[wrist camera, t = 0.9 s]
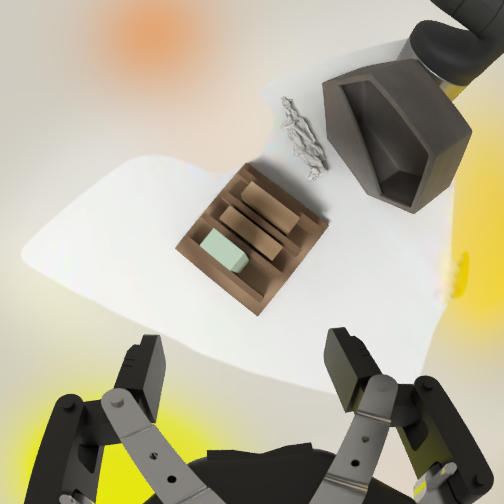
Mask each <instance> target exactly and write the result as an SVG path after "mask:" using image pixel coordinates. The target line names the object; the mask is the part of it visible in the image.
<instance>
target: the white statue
mask: <svg viewBox="0 0 504 504" xmlns="http://www.w3.org/2000/svg"><path fill="white" fill-rule="evenodd" d="M281 100H282V104H283V106H285V108H284V109H285V111H286V115H287V117H288V120H287V121H286V122H285V123H284V124H282V125H281V129H282V130H285V129H288V131H289V132H290V133H289V138H290V139H291V140H294V142H295V147H294V155H295V156H298V155H300V158H301V159H303V160H304V161H305V162H306V163H307V164H308V165H309V167H310V168H311V171H312V172H311V174H310V176H309V177H308V180H309V181H310V180H311V179H312V178H314V180H316V178H318V177H319V176H322V175H323V174H326V173H327V172H328V171H327V170H326V169H325V168H324V167H323V166H322V164H321V163H322V162H321V161H324V160H325V161H326V157H325V158H324V155H323V151H322V150H321V148H320V147H319V146H318V145H316V144H314V143H315V140H316V139H315V138H314V137H313V135H312V133H311V132H310V130H309V128H308V125H307V123H306V122H305V121H304V119H303V118H299V117H298V116H297V115H295V113H296V111H294V110H293V109H292V108H291V104H290V102H291V101H293V99H289V100H286V98H285V97H283V98H281ZM296 114H297V113H296ZM291 136H294V137H293V139H292V137H291ZM320 158H321V159H320Z"/></svg>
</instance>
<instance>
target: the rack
mask: <svg viewBox="0 0 504 504" xmlns="http://www.w3.org/2000/svg"><path fill="white" fill-rule="evenodd" d="M251 181H252V182H253V183H255V184H256V185H258V186H259V187H260V188H262V189H263V190H264V191H266V192H267V193H268V194H270V195H271V196H272V197H273V198H275V199H276V200H277V201H279V202H280V203H281V204H283V205H284V206H285V207H287V208H288V209H289V210H290V211H292V212H293V213H294V214H296V215H297V216H298V217H299V218H300V219H299V220H298V222H297V223H296V225H295V226H294V228H293V229H292V230H291V232H290V233H289V234H288V235H287V237H285V236H284V235H283V234H281V233H280V232H279V231H278V230H276V229H275V228H274V227H272V226H271V225H270V224H269V223H267V222H266V221H265V220H263V219H262V218H261V217H260V216H258V215H257V214H256V213H254V212H253V211H252V210H251V209H249V208H248V207H247V206H245V205H244V204H243V202H242V197H241V193H242V192H243V191H244V190H245V188H246V187H247V186H248V185H249V184H250V183H251ZM229 206H231V207H233V208H234V209H235V210H237V211H238V212H239V213H240V214H242V215H243V216H244V217H246V218H247V219H248V220H249V221H251V222H252V223H253V224H255V225H256V226H257V227H258V228H260V229H261V230H262V231H263V232H265V233H266V234H267V235H269V236H270V237H271V238H272V239H274V240H275V241H276V242H277V243H279V244H280V245H281V246H283V248H282V249H281V250H280V252H279V253H278V254H277V256H276V257H275V258H274V259H273V261H272V262H270V261H269V260H268V259H267V258H265V257H264V256H263V255H262V254H260V253H259V252H258V251H257V250H255V249H254V248H253V247H252V246H250V245H249V244H248V243H247V242H245V241H244V240H243V239H242V238H240V237H239V236H238V235H237V234H235V233H234V232H233V231H231V230H230V229H229V228H228V227H226V226H225V225H224V224H223V223H222V222H221V220H220V219H219V218H220V217H221V215H222V214H223V213H224V212H225V211H226V209H227V208H228V207H229ZM328 226H329V225H327V224H326V223H325V222H324V221H322V220H321V219H320V218H319V217H317V216H316V215H315V214H314V213H312V212H311V211H310V210H309V209H307V208H306V207H305V206H303V205H302V204H301V203H300V202H298V201H297V200H296V199H294V198H293V197H292V196H290V195H289V194H288V193H287V192H285V191H284V190H283V189H281V188H280V187H279V186H277V185H276V184H275V183H273V182H272V181H271V180H269V179H268V178H266V177H265V176H264V175H262V174H261V173H260V172H258V171H257V170H255V169H254V168H253V167H251V166H250V165H248V164H247V163H245V165H244V166H243V167H242V168H241V169H240V170H239V171H238V173H237V174H236V175H235V176H234V177H233V178H232V179H231V181H230V182H229V183H228V184H227V185H226V186H225V188H224V189H223V190H222V191H221V192H220V193H219V195H218V196H217V197H216V198H215V199H214V201H213V202H212V203H211V204H210V205H209V207H208V208H207V209H206V210H205V211H204V213H203V214H202V215H201V216H200V218H199V219H198V220H197V221H196V223H195V224H194V225H193V226H192V227H191V229H190V230H189V231H188V232H187V234H186V235H185V236H184V237H183V239H182V240H181V241H180V243H179V244H178V245H177V246H176V248H175V249H176V250H177V251H179V252H180V253H181V254H182V255H183V256H184V257H186V258H187V259H188V260H189V261H190V262H192V263H193V264H194V265H195V266H196V267H197V268H199V269H200V270H201V271H202V272H203V273H205V274H206V275H207V276H208V277H209V278H211V279H212V280H213V281H214V282H215V283H217V284H218V285H219V286H220V287H222V288H223V289H224V290H225V291H226V292H228V293H229V294H230V295H231V296H233V297H234V298H235V299H236V300H238V301H239V302H240V303H241V304H243V305H244V306H245V307H246V308H248V309H249V310H250V311H251V312H253V313H254V314H255V315H256V316H259V314H260V313H261V312H262V311H263V309H264V308H265V307H266V306H267V304H268V303H269V302H270V301H271V300H272V298H273V297H274V296H275V295H276V293H277V292H278V291H279V290H280V288H281V287H282V286H283V285H284V283H285V282H286V281H287V279H288V278H289V277H290V276H291V274H292V273H293V272H294V271H295V269H296V268H297V267H298V265H299V264H300V263H301V262H302V260H303V259H304V258H305V256H306V255H307V254H308V253H309V251H310V250H311V249H312V247H313V246H314V245H315V243H316V242H317V241H318V239H319V238H320V237H321V235H322V234H323V233H324V231H325V230H326V229H327V227H328ZM213 228H214V229H216V230H217V231H218V232H219V233H221V234H222V235H223V236H224V237H226V238H227V239H228V240H229V241H231V242H232V243H233V244H234V245H236V246H237V247H238V248H239V249H241V250H242V251H243V252H244V253H245V254H246V256H247V258H248V259H249V262H248V264H247V265H246V266H245V267H244V269H243V270H242V271H241V272H240V273H237V272H233V271H230V270H229V269H227V268H226V267H225V266H224V265H222V264H221V263H220V262H219V261H218V260H216V259H215V258H214V257H213V256H211V255H210V254H209V253H208V252H207V251H205V250H204V249H203V248H202V247H201V246H200V244H201V243H202V242H203V241H204V239H205V238H206V237H207V236H208V234H209V233H210V232H211V231H212V229H213Z"/></svg>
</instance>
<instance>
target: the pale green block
mask: <svg viewBox="0 0 504 504" xmlns="http://www.w3.org/2000/svg"><path fill="white" fill-rule="evenodd" d="M200 246H201V247H202V248H203V249H204V250H205V251H207V252H208V253H209V254H210V255H211V256H213V257H214V258H215V259H216V260H218V261H219V262H220V263H221V264H222V265H224V266H225V267H226V268H227V269H229V270H230V271H233V272H237V273H240V272H241V271H242V270H243V269H244V267H245V266H246V265H247V264H248V262H249V259H248V258H247V256H246V254H245V253H244V252H243V251H242V250H241V249H239V248H238V247H237V246H236V245H234V244H233V243H232V242H231V241H229V240H228V239H227V238H226V237H224V236H223V235H222V234H221V233H219V232H218V231H217V230H216V229H214V228H213V229H212V231H211V232H210V233H209V234H208V236H207V237H206V238H205V239H204V241H203V242H202V243H201V244H200Z"/></svg>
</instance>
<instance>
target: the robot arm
mask: <svg viewBox="0 0 504 504" xmlns="http://www.w3.org/2000/svg"><path fill="white" fill-rule="evenodd" d="M430 1H431V2H433V3H434V4H435V5H436V6H438V7H439V8H440V9H441V10H443V11H444V12H445V13H447V14H448V15H451V17H452V18H454V19H455V20H457V21H458V22H459V23H461V24H462V25H463V26H465V27H466V28H467V29H469V30H470V31H469V30H463V29H458V28H455V27H452V26H449V25H446V24H443V23H440V22H437V21H432V20H425V21H421V22H420V23H418V24H417V25H416V26H415V28H414V29H413V31H412V33H411V35H410V37H409V38H408V40H407V42H406V44H405V45H404V47H403V49H402V51H401V53H400V54H399V56H398V58H397V60H396V61H399V60H405V59H415V60H416V61H417V62H418V63H419V64H420V65H421V66H422V68H423V69H424V70H425V71H426V72H427V73H428V74H429V75H430V76H431V78H432V79H433V80H434V81H435V82H436V83H437V84H438V86H439V87H440V88H441V89H442V90H443V92H444V93H445V94H446V95H447V97H448V98H449V99H450V100H451V102H452V101H453V100H454V99H455V98H456V97H457V96H458V95H459V94H460V93H461V92H462V91H463V90H464V89H465V88H466V87H467V86H468V85H469V84H470V83H471V81H473V80H474V79H475V78H476V77H478V76H479V75H480V74H481V73H483V72H484V70H485V69H487V68H488V67H489V66H490V65H491V64H492V63H493V62H494V61H495V60H496V59H497V58H498V57H500V56H501V55H502V54H503V53H504V0H430ZM324 363H325V366H326V368H327V370H328V373H329V375H330V377H331V380H332V382H333V384H334V387H335V389H336V392H337V394H338V396H339V399H340V401H341V403H342V406H343V408H344V411H345V413H346V412H351V411H354V414H355V416H354V419H353V421H352V423H351V426H350V428H349V430H348V432H347V434H346V436H345V438H344V441H343V442H342V445H341V447H340V449H339V451H338V453H337V455H335V454H334V453H331V452H328V451H324V450H320V449H313V448H312V444H311V443H303V444H296V445H288V446H284V447H281V448H278V449H275V450H272V451H269V452H265V453H262V454H257V453H250V452H243V451H236V450H207V457H204V458H200V459H197V460H194V461H192V462H190V463H188V464H186V463H185V462H184V461H183V460H182V459H181V457H180V456H179V455H178V454H177V452H175V450H174V449H173V448H172V446H171V445H170V444H169V443H168V441H167V440H166V439H165V438H164V436H163V435H162V434H161V432H160V431H159V430H158V428H157V427H156V426H155V425H152V424H151V423H156V418H157V413H158V407H159V402H160V396H161V391H162V386H163V381H164V376H165V370H166V362H165V356H164V352H163V347H162V342H161V338H160V335H143V338H142V340H141V343H140V345H133V346H132V347H131V348H130V349H129V350H128V351H127V353H126V356H125V358H124V361H123V363H122V367H121V369H120V371H119V374H118V377H117V380H116V383H115V386H114V388H113V389H111V390H109V391H108V392H106V393H105V394H104V395H103V396H102V399H100V400H95V401H88V402H83V401H82V399H81V398H80V397H79V396H78V395H75V394H66V395H64V396H62V397H60V398H59V399H58V400H57V402H56V404H55V406H54V409H53V412H52V414H51V416H50V419H49V422H48V424H47V427H46V430H45V433H44V436H43V438H42V441H41V445H40V447H39V451H38V454H37V457H36V460H35V463H34V467H33V470H32V474H31V477H30V481H29V485H28V489H27V493H26V497H25V501H24V504H95V503H96V495H97V488H98V481H99V475H100V468H101V463H102V457H103V451H104V446H105V445H111V444H119V443H122V444H123V445H124V447H125V449H126V450H127V452H128V453H129V455H130V457H131V458H132V460H133V461H134V463H135V465H136V466H137V467H138V469H139V471H140V472H141V473H142V475H143V476H144V478H145V479H146V481H147V482H148V483H149V485H150V486H151V488H152V489H153V490H154V492H155V494H153V495H152V496H151V497H150V498H149V499H148V500H147V501H145V502H144V503H143V504H472V503H474V502H475V501H476V500H478V499H479V498H481V497H482V496H483V495H485V494H486V493H487V492H488V491H489V490H490V489H491V488H492V486H493V482H494V476H493V473H492V471H491V469H490V467H489V465H488V464H487V462H486V460H485V458H484V456H483V454H482V452H481V450H480V449H479V447H478V445H477V444H476V442H475V440H474V438H473V436H472V435H471V433H470V431H469V429H468V428H467V426H466V424H465V423H464V421H463V419H462V418H461V416H460V415H459V413H458V411H457V410H456V408H455V407H454V405H453V404H452V402H451V400H450V399H449V397H448V395H447V394H446V392H445V391H444V389H443V388H442V386H441V385H440V383H439V382H438V381H437V380H436V379H435V378H433V377H430V376H420V377H418V378H417V379H416V380H415V382H414V384H397V382H396V381H395V380H394V379H393V378H392V377H390V376H388V375H384V374H382V372H381V371H380V369H379V367H378V366H377V364H376V363H375V361H374V359H373V358H372V356H370V353H369V351H368V350H367V348H366V346H365V345H364V343H363V342H362V341H361V340H360V339H358V338H357V337H356V336H350V335H349V333H348V331H347V330H346V328H345V327H340V328H331V329H329V330H328V334H327V340H326V345H325V350H324ZM389 427H396V429H397V431H398V433H399V435H400V438H401V440H402V442H403V445H404V447H405V449H406V452H407V454H408V457H409V459H410V461H411V464H412V466H413V469H414V471H415V474H416V476H417V479H418V481H417V482H416V483H415V486H414V500H413V499H412V498H411V497H409V496H407V495H405V494H403V493H401V492H399V491H397V490H395V489H394V488H392V487H390V486H388V485H386V484H384V483H383V482H381V481H379V480H377V479H375V478H374V477H372V475H373V473H374V470H375V468H376V465H377V463H378V460H379V457H380V454H381V451H382V449H383V446H384V443H385V440H386V437H387V434H388V430H389Z"/></svg>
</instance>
